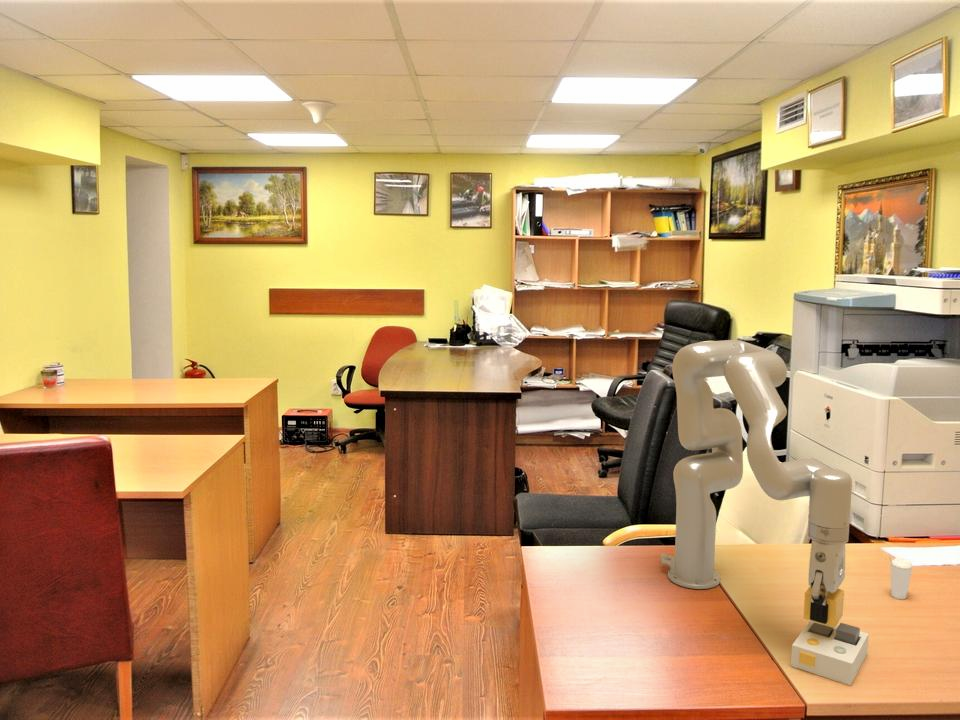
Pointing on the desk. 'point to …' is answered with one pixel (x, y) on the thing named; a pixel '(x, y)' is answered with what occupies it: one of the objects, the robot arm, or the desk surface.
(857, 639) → the block
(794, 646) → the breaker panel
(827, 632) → the button
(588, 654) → the desk surface
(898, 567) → the milkshake
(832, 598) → the cap
